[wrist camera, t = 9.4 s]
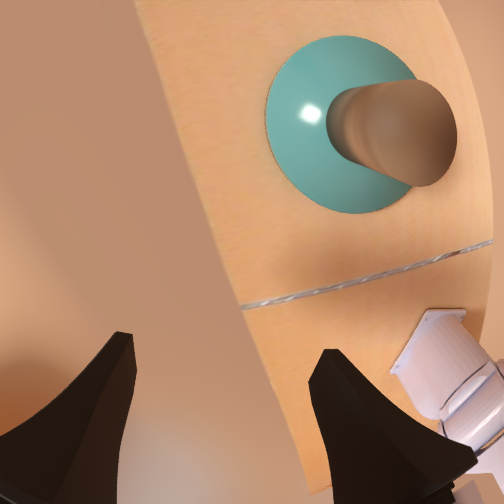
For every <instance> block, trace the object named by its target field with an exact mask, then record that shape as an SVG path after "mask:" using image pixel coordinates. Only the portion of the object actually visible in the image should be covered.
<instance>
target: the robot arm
mask: <svg viewBox="0 0 504 504" xmlns="http://www.w3.org/2000/svg"><path fill="white" fill-rule="evenodd" d="M466 313H467V311H466V310H465V309H429V310H427V311H426V312H425V313H424V315H423V317H422V319H421V320H420V322H419V324H418V326H417V328H416V329H415V331H414V333H413V334H412V336H411V338H410V340H409V341H408V343H407V345H406V346H405V348H404V349H403V351H402V353H401V354H400V356H399V357H398V359H397V360H396V362H395V363H394V365H393V366H392V368H391V369H390V371H389V372H390V374H396V375H397V377H398V379H399V380H400V382H401V384H402V386H403V387H404V389H405V391H406V393H407V394H408V396H409V398H410V400H411V401H412V403H413V405H414V407H415V408H416V410H417V411H418V412H419V413H420V414H421V415H423V416H424V417H426V418H428V419H432V420H438V419H441V420H440V421H439V423H438V431H437V433H436V432H434V431H432V430H430V429H429V428H427V427H425V426H424V425H422V424H420V423H419V422H417V421H416V420H414V419H413V418H411V417H410V416H409V415H407V414H406V413H405V412H403V411H402V410H401V409H399V408H398V407H397V406H396V405H394V404H393V403H392V402H391V401H390V400H389V399H388V398H386V397H385V396H384V395H383V394H382V393H381V392H380V391H379V390H378V389H377V388H376V387H375V386H374V385H373V384H372V383H371V382H370V381H369V380H368V379H367V378H366V377H365V376H364V375H363V374H362V373H361V372H360V371H359V370H358V369H357V368H356V367H355V366H354V365H353V364H352V363H351V362H350V361H349V360H348V359H347V358H346V356H345V355H344V354H343V353H342V352H341V351H340V350H338V349H324V351H323V353H322V355H321V357H320V359H319V361H318V363H317V365H316V367H315V369H314V371H313V373H312V375H311V377H310V379H309V381H308V383H309V390H310V396H311V402H312V406H313V409H314V412H315V416H316V419H317V422H318V425H319V428H320V432H321V435H322V438H323V441H324V444H325V447H326V451H327V455H328V461H329V466H330V472H331V480H332V487H333V499H334V504H484V502H483V499H482V497H481V495H480V493H479V490H478V488H477V486H476V484H475V482H474V480H471V481H470V482H469V483H467V484H465V485H464V486H462V487H461V488H459V489H458V490H456V491H455V492H453V493H452V491H451V489H452V488H454V487H455V485H454V483H453V481H454V480H456V479H457V478H458V477H460V476H461V475H463V474H464V473H465V474H476V473H492V474H493V475H494V477H495V479H496V481H497V483H498V485H499V487H500V489H501V490H502V492H503V494H504V433H503V434H502V435H501V436H499V437H498V438H497V439H496V440H495V441H494V442H493V443H491V444H490V445H489V446H488V447H486V448H484V449H480V448H482V447H483V446H484V445H485V444H486V443H488V442H489V441H490V440H491V439H492V438H493V437H494V436H496V435H497V434H498V433H499V432H500V431H501V430H502V429H503V428H504V359H500V360H499V361H498V362H497V363H496V362H494V361H493V360H492V359H491V358H490V356H489V355H488V354H487V353H486V351H485V350H484V349H483V348H482V347H481V345H480V344H479V343H478V342H477V341H476V340H475V338H474V337H473V336H472V335H471V334H470V333H469V332H468V331H467V329H466V328H465V327H464V326H463V325H462V324H461V322H462V320H463V318H464V317H465V315H466ZM136 373H137V367H136V360H135V352H134V343H133V334H129V333H123V332H118V331H117V332H115V333H114V334H113V335H112V337H111V338H110V339H109V340H108V342H107V343H106V344H105V345H104V347H103V348H102V349H101V350H100V352H99V353H98V354H97V355H96V356H95V357H94V359H93V360H92V361H91V362H90V363H89V364H88V365H87V367H86V368H85V369H84V370H83V371H82V372H81V373H80V374H79V375H78V376H77V377H76V378H75V379H74V380H73V382H71V383H70V384H69V386H68V387H67V388H66V389H64V390H63V391H62V392H61V393H60V394H59V395H58V396H57V397H56V398H55V399H54V400H52V401H51V402H50V403H49V404H48V405H46V406H45V407H44V408H43V409H41V410H40V411H39V412H37V413H36V414H35V415H34V416H32V417H31V418H29V419H28V420H26V421H25V422H23V423H22V424H20V425H19V426H17V427H16V428H14V429H12V430H11V431H9V432H7V433H5V434H4V435H2V436H0V504H117V473H118V462H119V451H120V445H121V440H122V436H123V431H124V427H125V424H126V420H127V416H128V412H129V408H130V405H131V401H132V397H133V393H134V386H135V380H136Z"/></svg>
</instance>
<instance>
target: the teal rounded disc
mask: <svg viewBox="0 0 504 504" xmlns="http://www.w3.org/2000/svg"><path fill="white" fill-rule="evenodd" d="M409 79H416V77H415V76H414V74H413V73H412V71H411V70H410V69H409V68H408V67H407V66H406V64H405V63H404V62H403V61H402V60H401V59H399V58H398V57H397V56H396V55H395V54H393V53H392V52H391V51H389V50H388V49H386V48H385V47H383V46H381V45H379V44H377V43H375V42H372V41H369V40H367V39H363V38H359V37H353V36H332V37H327V38H322V39H319V40H317V41H314V42H311V43H310V44H308V45H306V46H304V47H303V48H301V49H300V50H299V51H297V52H296V53H295V54H294V55H292V56H291V57H290V58H289V59H288V60H287V61H286V62H285V63H284V64H283V66H282V67H281V68H280V69H279V71H278V72H277V74H276V76H275V77H274V79H273V81H272V84H271V86H270V88H269V92H268V95H267V99H266V106H265V129H266V136H267V139H268V143H269V147H270V149H271V152H272V154H273V157H274V159H275V161H276V162H277V164H278V166H279V168H280V169H281V171H282V172H283V173H284V175H285V176H286V177H287V179H288V180H289V181H290V182H291V183H292V184H293V185H294V186H295V187H296V188H297V189H298V190H299V191H301V192H302V193H303V194H304V195H306V196H307V197H308V198H309V199H311V200H313V201H314V202H316V203H318V204H319V205H321V206H324V207H326V208H328V209H331V210H334V211H338V212H343V213H350V214H358V213H368V212H373V211H376V210H380V209H382V208H384V207H387V206H389V205H391V204H392V203H394V202H395V201H397V200H398V199H400V198H401V197H402V196H403V195H405V194H406V193H407V192H408V190H409V189H410V188H411V187H412V186H411V185H408V184H406V183H404V182H401V181H399V180H397V179H394V178H392V177H389V176H387V175H385V174H382V173H380V172H377V171H375V170H372V169H369V168H367V167H364V166H362V165H359V164H356V163H353V162H351V161H348V160H347V159H345V158H344V157H342V156H341V155H340V154H339V153H338V152H337V151H336V150H335V149H334V147H333V146H332V144H331V142H330V140H329V137H328V134H327V130H326V116H327V111H328V108H329V106H330V104H331V102H332V101H333V99H334V98H335V97H336V96H337V95H338V94H340V93H341V92H343V91H345V90H347V89H350V88H355V87H361V86H366V85H372V84H379V83H385V82H393V81H400V80H409ZM416 80H417V79H416Z"/></svg>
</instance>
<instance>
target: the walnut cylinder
mask: <svg viewBox="0 0 504 504" xmlns="http://www.w3.org/2000/svg"><path fill="white" fill-rule="evenodd" d="M326 130H327V134H328V137H329V140H330V142H331V144H332V146H333V147H334V149H335V150H336V151H337V152H338V153H339V154H340V155H341V156H342V157H344V158H345V159H347V160H348V161H351V162H353V163H356V164H359V165H362V166H364V167H367V168H369V169H372V170H375V171H377V172H380V173H382V174H385V175H387V176H389V177H392V178H394V179H397V180H399V181H401V182H404V183H406V184H408V185H411V186H417V187H423V186H428V185H431V184H433V183H435V182H436V181H438V180H439V179H440V178H441V177H442V176H443V175H444V174H445V173H446V172H447V170H448V169H449V167H450V165H451V163H452V161H453V158H454V155H455V151H456V145H457V129H456V123H455V119H454V115H453V113H452V110H451V108H450V106H449V104H448V102H447V101H446V99H445V98H444V97H443V95H442V94H441V93H440V92H439V91H438V90H437V89H436V88H434V87H433V86H432V85H430V84H428V83H426V82H424V81H421V80H416V79H409V80H400V81H393V82H385V83H379V84H372V85H366V86H361V87H355V88H350V89H347V90H345V91H343V92H341V93H340V94H338V95H337V96H336V97H335V98H334V99H333V101H332V102H331V104H330V106H329V108H328V111H327V116H326Z"/></svg>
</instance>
